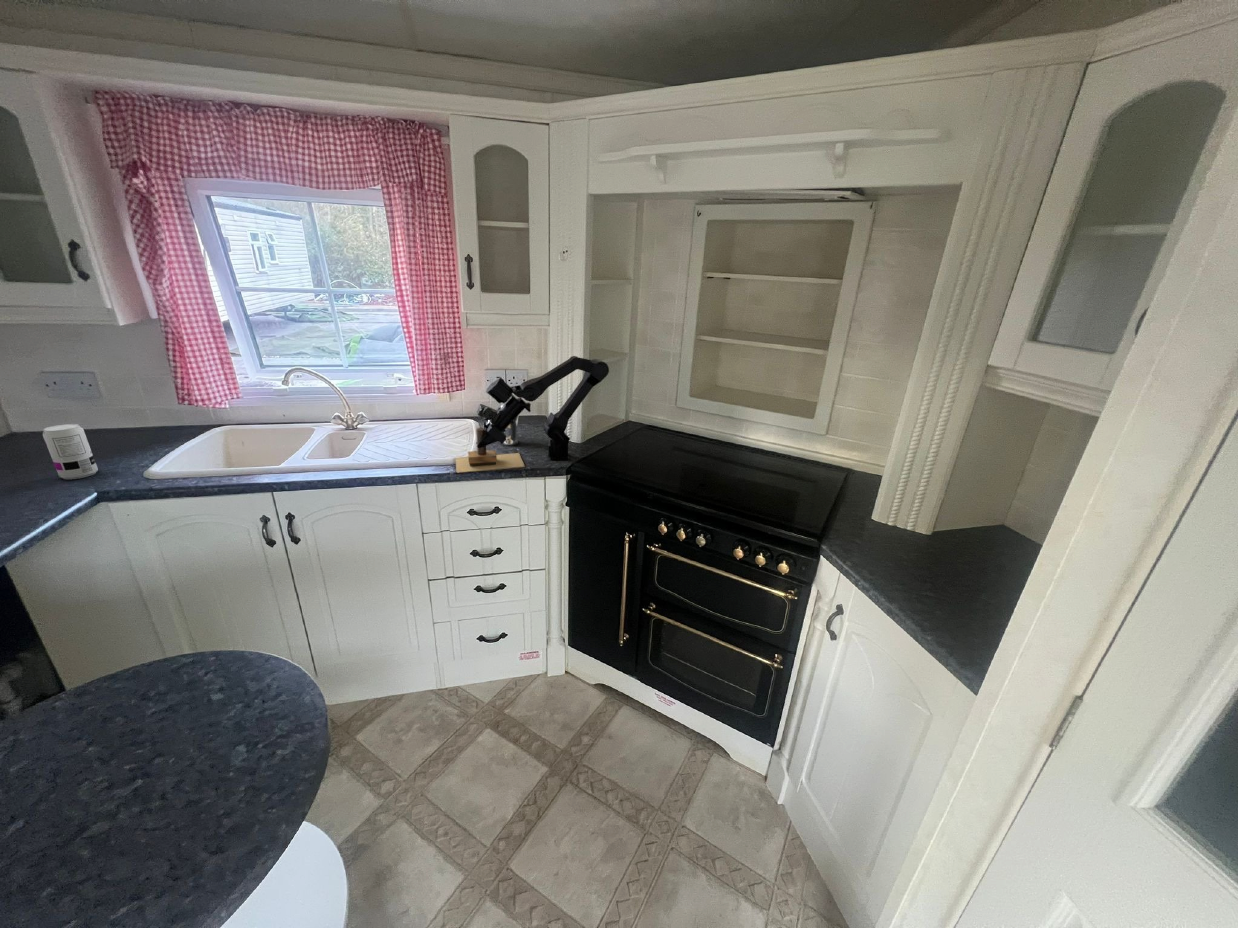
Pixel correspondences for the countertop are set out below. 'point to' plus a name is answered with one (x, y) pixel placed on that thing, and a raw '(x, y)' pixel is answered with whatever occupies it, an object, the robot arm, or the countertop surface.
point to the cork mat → (502, 463)
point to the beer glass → (511, 432)
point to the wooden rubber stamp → (481, 453)
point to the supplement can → (70, 451)
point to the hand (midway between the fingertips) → (477, 445)
